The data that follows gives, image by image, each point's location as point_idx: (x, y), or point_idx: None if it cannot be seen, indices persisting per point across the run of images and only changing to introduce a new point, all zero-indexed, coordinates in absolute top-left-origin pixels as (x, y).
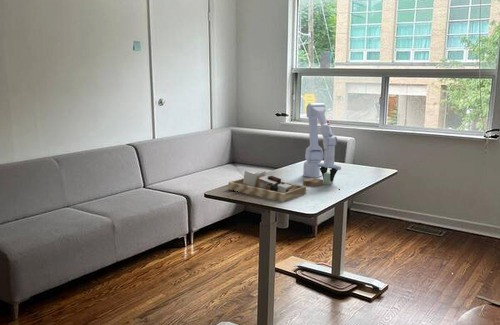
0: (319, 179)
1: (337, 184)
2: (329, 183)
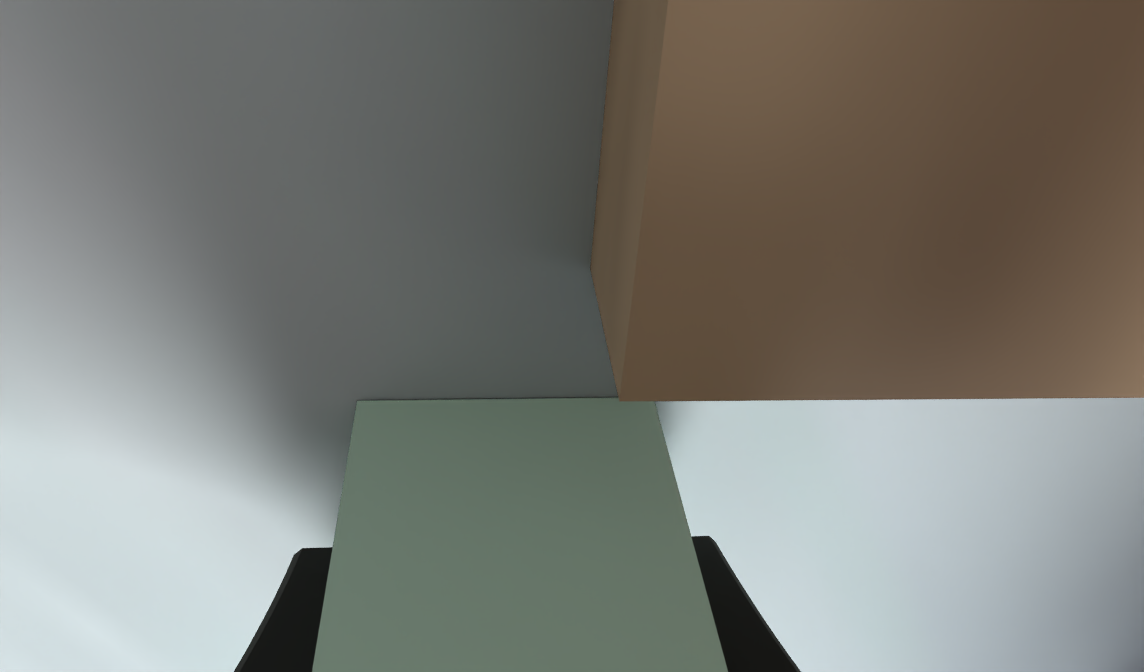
0: (833, 356)
1: (150, 574)
2: (352, 432)
